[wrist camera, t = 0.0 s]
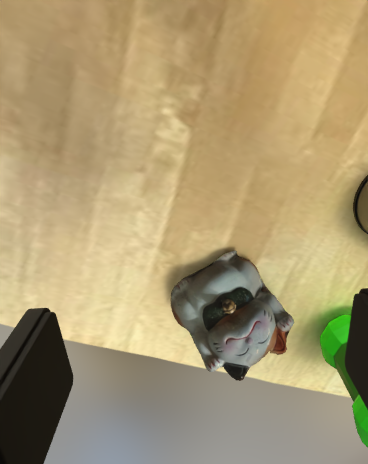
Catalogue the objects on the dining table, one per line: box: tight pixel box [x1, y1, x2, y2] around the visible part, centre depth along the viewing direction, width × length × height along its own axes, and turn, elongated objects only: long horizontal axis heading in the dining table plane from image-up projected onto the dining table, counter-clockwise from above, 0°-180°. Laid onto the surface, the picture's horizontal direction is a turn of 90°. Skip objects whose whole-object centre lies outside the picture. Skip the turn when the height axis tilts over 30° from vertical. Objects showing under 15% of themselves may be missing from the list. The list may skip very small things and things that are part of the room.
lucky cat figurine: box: [171, 251, 294, 381], centre depth 48 cm, size 15×12×14 cm
